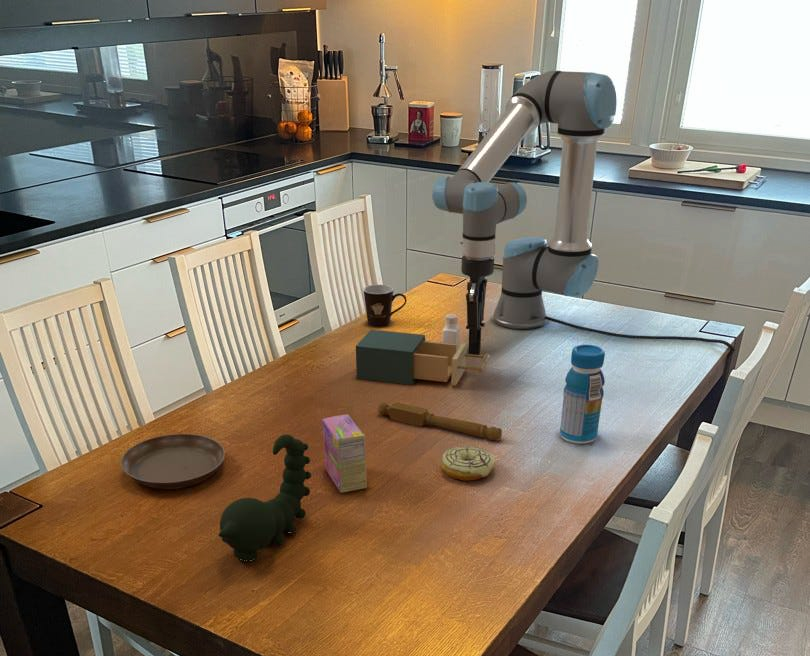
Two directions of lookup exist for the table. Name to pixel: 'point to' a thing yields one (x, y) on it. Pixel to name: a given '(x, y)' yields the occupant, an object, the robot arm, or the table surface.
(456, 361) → the drawer
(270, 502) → the toy figurine
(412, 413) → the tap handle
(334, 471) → the box
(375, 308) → the coffee mug
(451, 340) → the pepper shaker
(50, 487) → the table surface
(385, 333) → the cabinet
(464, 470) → the decorated donut
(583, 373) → the beverage bottle
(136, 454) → the plant saucer
